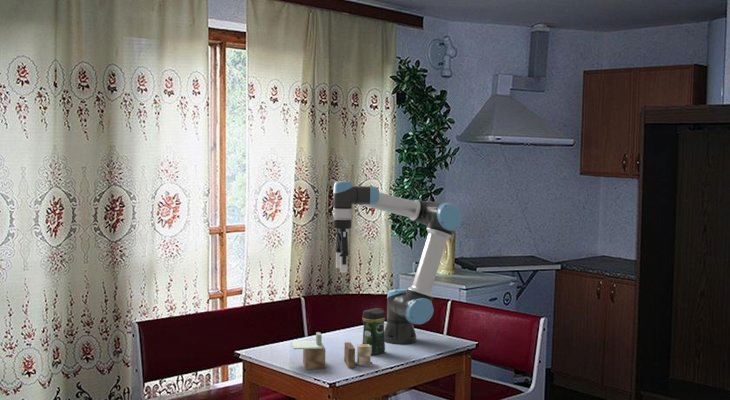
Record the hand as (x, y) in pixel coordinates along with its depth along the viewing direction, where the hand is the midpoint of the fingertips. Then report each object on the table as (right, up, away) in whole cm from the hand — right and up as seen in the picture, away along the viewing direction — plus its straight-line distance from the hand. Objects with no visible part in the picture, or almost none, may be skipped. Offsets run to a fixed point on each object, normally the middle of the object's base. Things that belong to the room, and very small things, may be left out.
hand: (341, 270), depth 325 cm
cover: (-13, -28, -19) cm, 36 cm away
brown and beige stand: (-5, -35, -17) cm, 40 cm away
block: (+9, -35, -15) cm, 39 cm away
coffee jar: (+13, -35, +4) cm, 38 cm away
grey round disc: (+9, -36, -15) cm, 40 cm away
